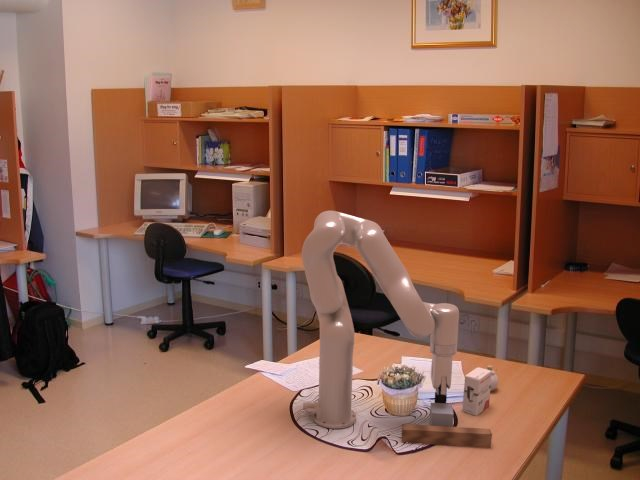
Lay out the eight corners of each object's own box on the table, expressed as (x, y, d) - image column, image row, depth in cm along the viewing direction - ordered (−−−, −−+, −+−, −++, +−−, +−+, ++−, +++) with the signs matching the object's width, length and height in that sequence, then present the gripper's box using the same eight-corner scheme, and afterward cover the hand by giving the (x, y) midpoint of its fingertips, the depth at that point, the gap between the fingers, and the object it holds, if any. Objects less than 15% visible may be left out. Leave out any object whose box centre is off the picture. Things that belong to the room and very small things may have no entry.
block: (430, 432, 203) (431, 412, 202) (429, 421, 209) (430, 402, 208) (452, 433, 203) (453, 414, 201) (450, 422, 209) (451, 403, 207)
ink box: (475, 401, 222) (478, 365, 220) (489, 406, 219) (492, 370, 217) (461, 411, 216) (464, 374, 213) (476, 416, 213) (479, 379, 210)
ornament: (490, 384, 234) (493, 355, 232) (504, 394, 228) (506, 364, 225) (474, 387, 232) (476, 358, 230) (487, 397, 225) (490, 367, 223)
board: (401, 442, 197) (402, 429, 196) (401, 437, 200) (402, 424, 199) (490, 447, 196) (491, 434, 195) (489, 441, 199) (490, 428, 198)
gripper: (427, 336, 212) (425, 394, 217) (432, 357, 198) (429, 418, 202) (453, 337, 212) (450, 394, 216) (460, 357, 198) (456, 419, 202)
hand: (440, 405), depth 209 cm, fingers closed
